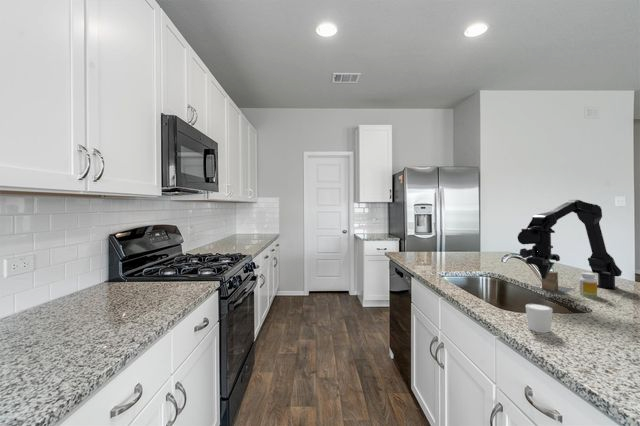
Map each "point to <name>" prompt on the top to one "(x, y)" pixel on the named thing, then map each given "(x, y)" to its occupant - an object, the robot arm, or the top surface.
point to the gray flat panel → (560, 290)
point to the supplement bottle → (588, 285)
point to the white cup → (539, 317)
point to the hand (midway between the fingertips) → (543, 278)
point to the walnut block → (550, 281)
